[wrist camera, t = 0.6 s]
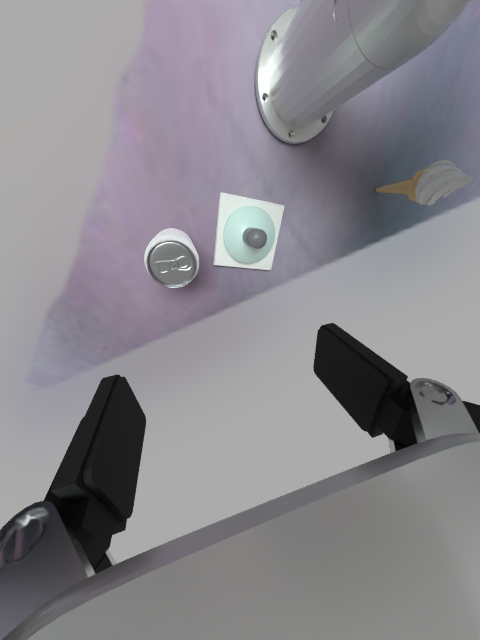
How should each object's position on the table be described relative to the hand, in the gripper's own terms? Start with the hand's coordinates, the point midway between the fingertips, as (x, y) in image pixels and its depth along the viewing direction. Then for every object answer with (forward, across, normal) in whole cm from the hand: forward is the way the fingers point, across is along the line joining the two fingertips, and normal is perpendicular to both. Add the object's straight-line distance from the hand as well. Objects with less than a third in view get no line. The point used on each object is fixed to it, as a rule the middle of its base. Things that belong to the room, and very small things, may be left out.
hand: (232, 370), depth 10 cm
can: (+30, +3, -2) cm, 30 cm away
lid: (+29, -10, -2) cm, 30 cm away
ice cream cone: (+30, -36, -7) cm, 47 cm away
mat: (+30, -10, -2) cm, 31 cm away
